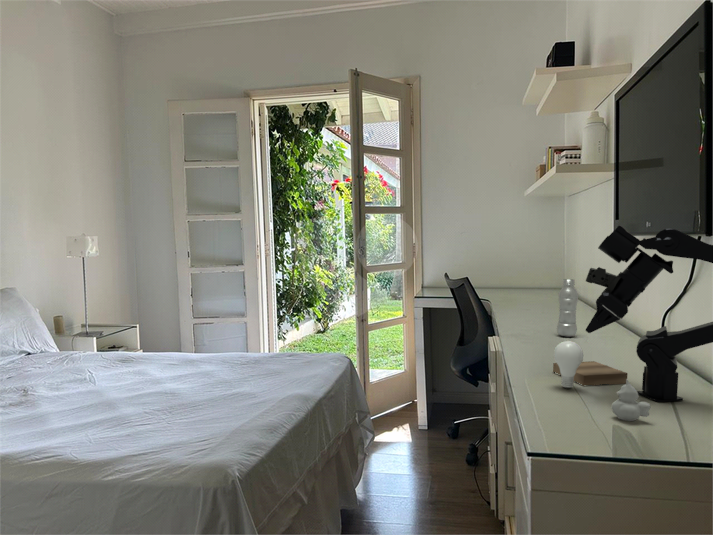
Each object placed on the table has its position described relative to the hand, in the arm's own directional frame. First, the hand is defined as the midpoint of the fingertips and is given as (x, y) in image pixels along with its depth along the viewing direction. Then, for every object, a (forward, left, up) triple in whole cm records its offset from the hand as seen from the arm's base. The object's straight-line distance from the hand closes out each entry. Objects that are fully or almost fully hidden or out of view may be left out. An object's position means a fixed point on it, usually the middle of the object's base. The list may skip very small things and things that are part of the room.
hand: (588, 328), depth 123 cm
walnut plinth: (+7, -6, -14) cm, 17 cm away
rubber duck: (-21, +6, -14) cm, 26 cm away
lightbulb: (0, +5, -14) cm, 15 cm away
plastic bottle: (+56, -34, -14) cm, 67 cm away
